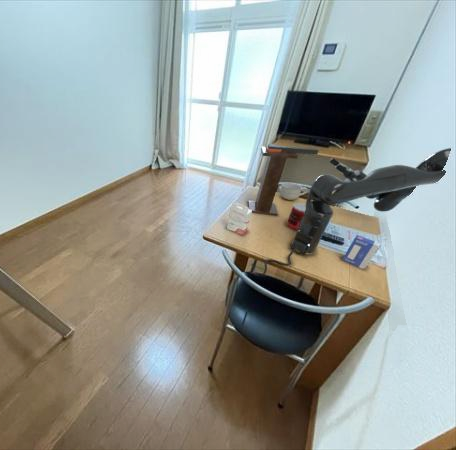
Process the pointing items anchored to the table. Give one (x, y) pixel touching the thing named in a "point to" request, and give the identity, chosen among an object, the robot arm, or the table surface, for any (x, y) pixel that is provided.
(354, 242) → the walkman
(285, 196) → the teacup
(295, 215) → the canned food
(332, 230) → the table surface
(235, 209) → the ink cartridge box
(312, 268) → the table surface
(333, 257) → the table surface
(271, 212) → the walnut stand
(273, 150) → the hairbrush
